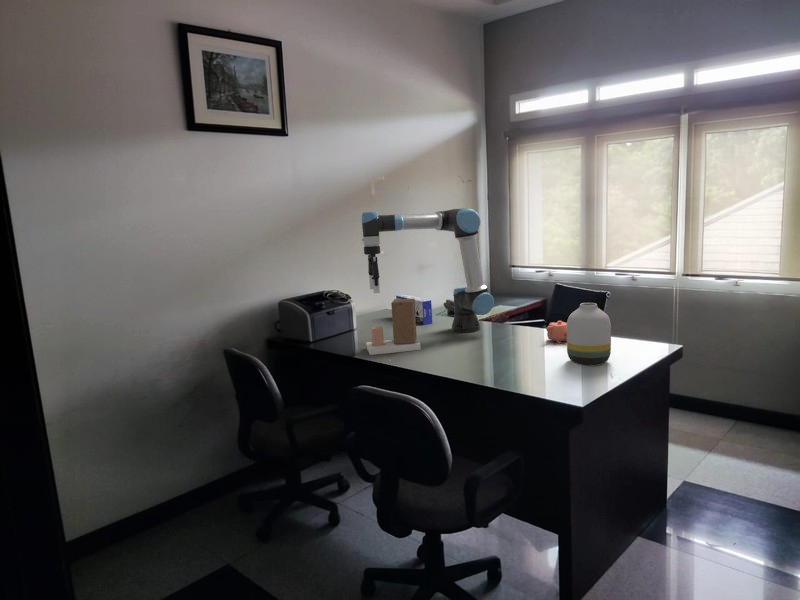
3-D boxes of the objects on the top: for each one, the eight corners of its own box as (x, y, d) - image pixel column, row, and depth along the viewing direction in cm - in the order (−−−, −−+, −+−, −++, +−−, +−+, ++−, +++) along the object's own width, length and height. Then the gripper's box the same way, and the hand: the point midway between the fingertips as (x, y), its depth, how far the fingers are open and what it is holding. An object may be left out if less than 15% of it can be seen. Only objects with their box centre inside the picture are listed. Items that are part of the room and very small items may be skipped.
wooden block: (414, 343, 262) (412, 301, 258) (393, 344, 263) (391, 302, 260) (416, 338, 271) (414, 298, 268) (396, 339, 273) (394, 299, 269)
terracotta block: (382, 342, 268) (381, 326, 266) (384, 344, 263) (382, 328, 262) (372, 343, 267) (371, 327, 266) (373, 345, 262) (372, 329, 261)
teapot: (571, 344, 255) (571, 324, 254) (545, 343, 261) (544, 323, 259) (575, 338, 266) (575, 319, 264) (550, 337, 271) (550, 318, 269)
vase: (588, 354, 238) (588, 299, 234) (620, 363, 223) (620, 304, 219) (558, 361, 231) (557, 304, 227) (588, 370, 216) (588, 309, 212)
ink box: (396, 318, 342) (395, 295, 340) (406, 316, 345) (404, 294, 343) (422, 325, 316) (421, 301, 314) (432, 324, 319) (431, 299, 317)
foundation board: (415, 343, 275) (414, 337, 274) (420, 349, 262) (420, 343, 262) (366, 348, 271) (366, 342, 270) (369, 354, 258) (369, 348, 258)
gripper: (360, 244, 269) (363, 288, 272) (366, 247, 245) (370, 295, 248) (376, 243, 270) (379, 286, 274) (383, 246, 246) (386, 293, 249)
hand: (374, 291), depth 261 cm, fingers open, 13 cm apart
